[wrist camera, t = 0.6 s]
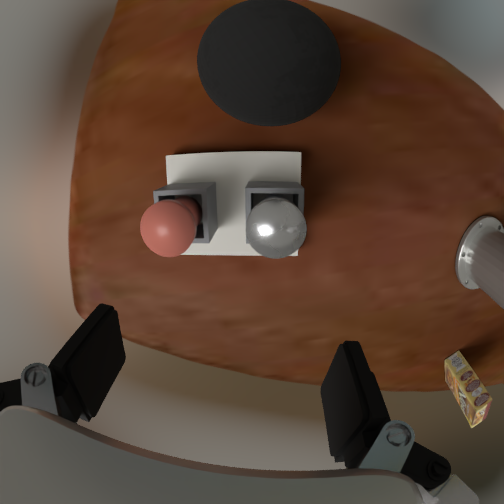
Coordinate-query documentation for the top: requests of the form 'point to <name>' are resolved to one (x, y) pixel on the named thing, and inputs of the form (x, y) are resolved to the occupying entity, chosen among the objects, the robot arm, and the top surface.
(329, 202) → the top surface
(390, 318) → the top surface
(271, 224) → the steel plunger
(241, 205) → the button panel
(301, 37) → the decorative egg
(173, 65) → the top surface
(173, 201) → the red plunger
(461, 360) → the candy box
